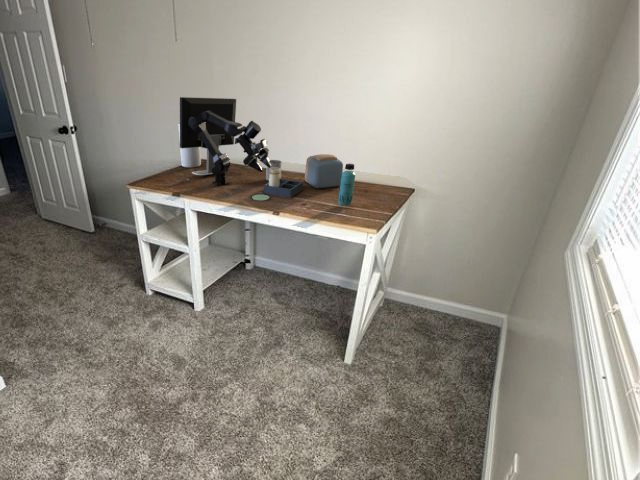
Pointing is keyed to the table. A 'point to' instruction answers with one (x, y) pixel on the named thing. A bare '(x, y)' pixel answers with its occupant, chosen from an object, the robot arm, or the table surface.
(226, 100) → the computer monitor
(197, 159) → the cylinder vase
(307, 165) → the blue rounded cube
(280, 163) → the cup
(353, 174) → the beverage bottle
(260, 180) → the table surface
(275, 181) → the pen pot
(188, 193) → the table surface
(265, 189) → the organizer
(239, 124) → the robot arm
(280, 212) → the table surface
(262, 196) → the coaster
